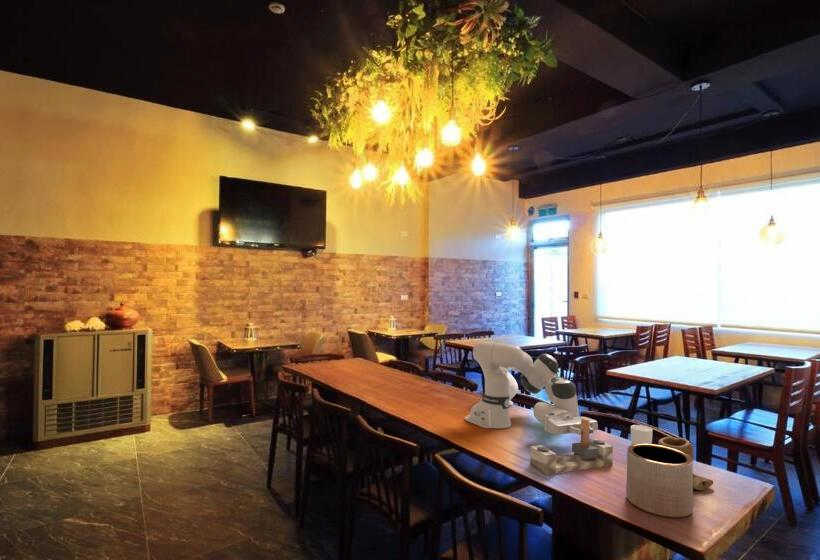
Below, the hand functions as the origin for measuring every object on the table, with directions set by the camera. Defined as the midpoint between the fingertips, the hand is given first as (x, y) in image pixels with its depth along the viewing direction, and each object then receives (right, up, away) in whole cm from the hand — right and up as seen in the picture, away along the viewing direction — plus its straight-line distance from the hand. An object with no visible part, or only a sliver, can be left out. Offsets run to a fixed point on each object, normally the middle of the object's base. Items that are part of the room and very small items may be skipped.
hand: (586, 432), depth 164 cm
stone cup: (+26, -13, -15) cm, 33 cm away
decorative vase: (-14, -13, +84) cm, 86 cm away
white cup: (+27, -13, +13) cm, 33 cm away
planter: (+10, -12, -30) cm, 34 cm away
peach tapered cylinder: (-1, -10, +1) cm, 10 cm away
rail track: (-6, -12, -1) cm, 13 cm away
